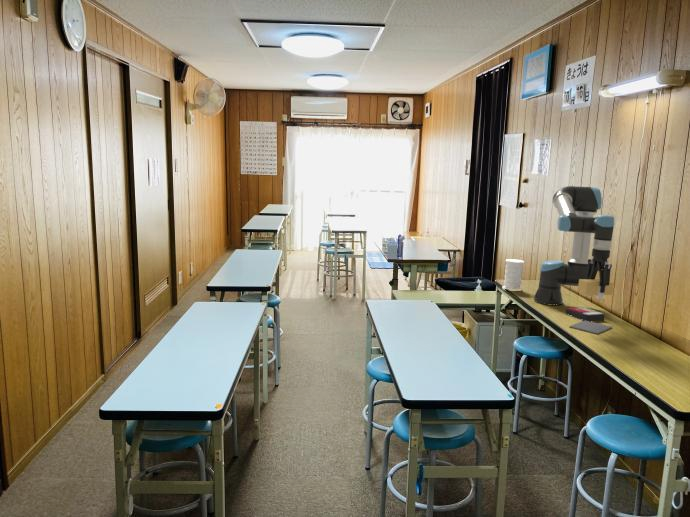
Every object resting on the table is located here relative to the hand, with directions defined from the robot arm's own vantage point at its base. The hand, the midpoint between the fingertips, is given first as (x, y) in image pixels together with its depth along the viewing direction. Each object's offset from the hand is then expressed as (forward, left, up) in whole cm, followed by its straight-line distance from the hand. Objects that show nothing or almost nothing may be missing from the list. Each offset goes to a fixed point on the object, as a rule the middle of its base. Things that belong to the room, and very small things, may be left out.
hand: (595, 297), depth 253 cm
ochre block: (+6, -4, +5) cm, 9 cm away
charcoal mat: (0, 0, -15) cm, 15 cm away
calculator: (-16, -10, -15) cm, 25 cm away
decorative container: (-39, -65, -15) cm, 77 cm away
